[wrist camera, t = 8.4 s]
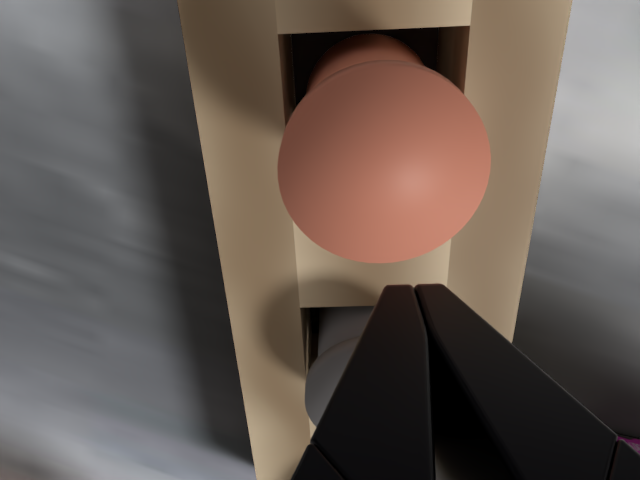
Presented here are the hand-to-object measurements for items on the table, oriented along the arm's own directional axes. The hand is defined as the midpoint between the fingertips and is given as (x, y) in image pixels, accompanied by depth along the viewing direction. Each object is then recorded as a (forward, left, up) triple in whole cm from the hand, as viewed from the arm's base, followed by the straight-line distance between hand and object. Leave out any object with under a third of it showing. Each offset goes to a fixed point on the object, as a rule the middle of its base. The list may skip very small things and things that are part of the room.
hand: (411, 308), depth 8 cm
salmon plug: (0, 0, -11) cm, 11 cm away
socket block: (0, -9, -13) cm, 16 cm away
